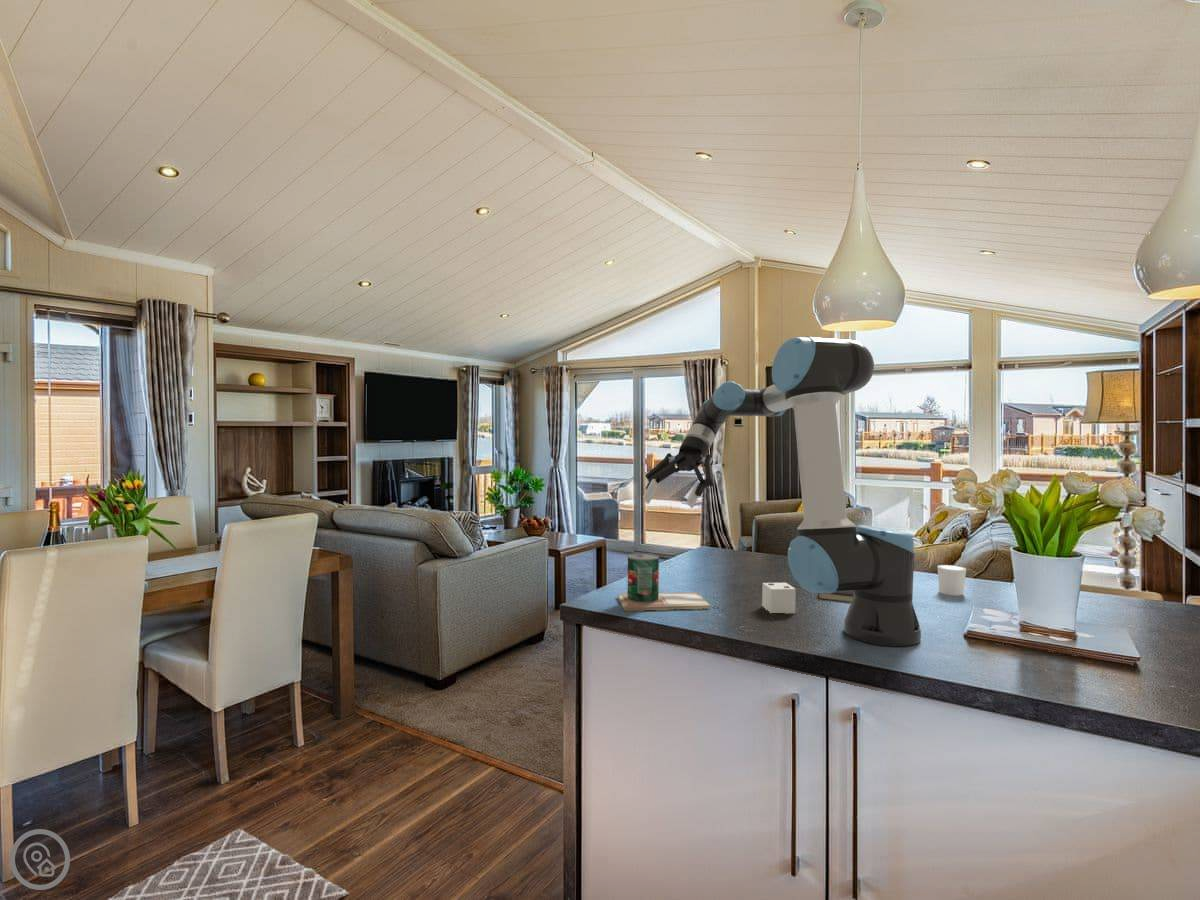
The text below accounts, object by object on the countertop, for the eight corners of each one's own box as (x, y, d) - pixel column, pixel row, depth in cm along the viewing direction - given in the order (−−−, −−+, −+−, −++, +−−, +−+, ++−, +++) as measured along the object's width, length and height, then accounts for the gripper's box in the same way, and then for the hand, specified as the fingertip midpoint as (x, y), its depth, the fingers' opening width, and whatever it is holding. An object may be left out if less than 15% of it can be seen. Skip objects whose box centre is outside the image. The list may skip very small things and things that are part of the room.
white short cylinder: (969, 596, 169) (970, 570, 169) (942, 595, 170) (942, 569, 170) (959, 590, 176) (960, 564, 175) (932, 588, 177) (933, 563, 177)
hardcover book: (886, 587, 181) (887, 578, 181) (884, 608, 160) (884, 598, 160) (827, 580, 188) (827, 572, 188) (817, 599, 167) (817, 591, 167)
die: (795, 613, 153) (795, 588, 153) (771, 614, 153) (771, 588, 152) (785, 606, 159) (785, 582, 159) (762, 606, 159) (762, 582, 158)
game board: (710, 609, 156) (710, 604, 156) (625, 611, 154) (625, 607, 154) (697, 595, 168) (697, 591, 168) (618, 597, 166) (618, 593, 166)
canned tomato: (665, 601, 159) (665, 557, 159) (638, 605, 155) (639, 560, 155) (646, 593, 166) (647, 551, 165) (621, 597, 162) (621, 554, 161)
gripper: (741, 454, 173) (714, 515, 162) (664, 452, 189) (634, 507, 178) (733, 435, 169) (704, 496, 158) (654, 434, 184) (623, 490, 173)
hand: (667, 502), depth 168 cm, fingers open, 13 cm apart
